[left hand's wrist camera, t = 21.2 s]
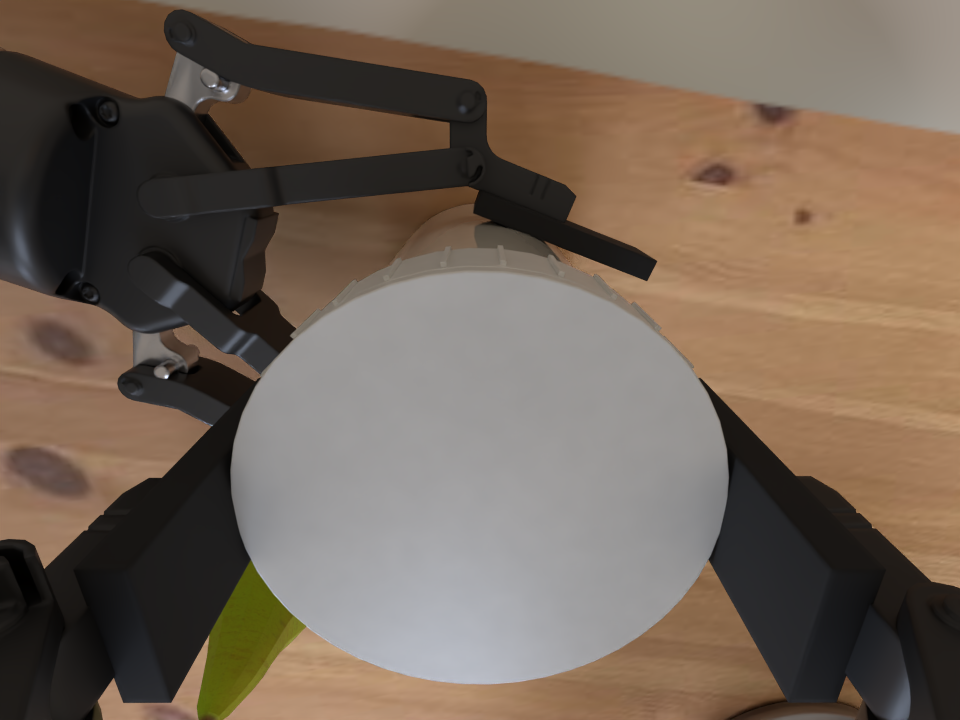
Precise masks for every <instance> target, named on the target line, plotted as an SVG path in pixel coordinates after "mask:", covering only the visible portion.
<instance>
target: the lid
mask: <svg viewBox="0 0 960 720" xmlns="http://www.w3.org/2000/svg"><path fill="white" fill-rule="evenodd" d="M660 329H661V327H660V326H659V325H658V324H657V323H656V322H655V321H654V320H653V319H652V318H651V317H650V316H649V315H648V314H647V313H646V312H645V311H644V310H643V309H642V308H641V307H640V306H638V305H637V304H636V303H635V302H633V303H632V304H630V303H629V302H628V301H626V300H625V299H624V298H623V297H622V296H620V295H619V294H618V293H617V292H616V291H615V290H613V289H611V288H610V287H609V286H608V285H607V284H606V283H605V282H604V281H603V280H602V278H601V277H600V276H598V275H597V274H595V275H594V276H593V277H592V276H591V275H589V274H587V273H585V272H582V271H580V270H578V269H576V268H573V267H571V266H569V265H567V264H564V263H562V262H559V261H557V260H556V259H555V257H554V256H552V255H548V258H545V257H542V256H539V255H535V254H532V253H526V252H519V251H512V250H506V249H504V248H503V246H502V245H498V247H497V249H493V248H464V249H455V250H451V246H448V247H446V248H445V250H444V251H438V252H433V253H429V254H425V255H421V256H417V257H413V258H409V259H406V260H403V261H402V260H401V258H398V259H396V260H395V261H394V262H393V264H392V265H391V266H388V267H386V268H383V269H381V270H378V271H376V272H375V273H373V274H371V275H369V276H368V277H366V278H364V279H362V280H361V281H359V282H357V280H356V279H354V280H353V281H351V282H350V283H349V284H348V285H347V286H346V287H345V288H344V290H343V291H342V292H341V293H340V294H339V295H338V296H337V297H336V298H335V299H334V300H333V301H331V302H330V303H329V304H328V305H327V306H326V307H325V308H324V309H323V310H322V311H321V310H320V309H317V310H316V311H315V312H314V313H313V314H312V315H311V316H310V317H308V318H307V319H306V320H305V321H304V322H303V323H302V324H301V325H300V326H299V327H298V328H297V329H296V330H295V331H294V332H293V333H292V334H291V335H290V336H291V337H292V338H293V340H292V341H291V342H290V343H289V344H288V346H287V347H286V348H285V349H284V350H283V351H282V352H281V353H280V354H279V355H278V356H277V357H276V358H275V359H274V360H273V361H272V362H271V364H270V365H269V366H268V367H267V368H266V369H265V370H264V371H263V372H262V373H261V375H260V376H261V379H260V380H259V382H258V383H257V384H256V386H255V388H254V390H253V392H252V394H251V396H250V398H249V400H248V402H247V404H246V406H245V409H244V411H243V413H242V416H241V419H240V422H239V426H238V429H237V432H236V436H235V439H234V445H233V452H232V460H231V468H230V474H231V495H232V500H233V505H234V509H235V514H236V519H237V524H238V528H239V532H240V535H241V538H242V541H243V543H244V546H245V549H246V551H247V553H248V555H249V556H250V558H251V560H252V562H253V564H254V566H255V568H256V570H257V572H258V573H259V575H260V576H261V577H262V579H263V580H264V582H265V583H266V584H267V586H268V587H269V589H270V590H271V591H272V593H273V594H274V595H275V596H276V597H277V598H278V599H279V600H280V602H281V603H282V604H283V605H284V606H285V607H286V608H287V609H288V610H289V611H290V612H291V613H292V614H293V615H294V616H295V617H296V618H298V619H299V620H300V621H301V622H302V623H303V624H305V625H306V626H307V627H308V628H309V629H310V630H312V631H313V632H315V633H316V634H318V635H319V636H321V637H322V638H324V639H325V640H327V641H328V642H329V643H331V644H332V645H334V646H336V647H338V648H340V649H342V650H343V651H345V652H347V653H349V654H351V655H353V656H355V657H357V658H359V659H361V660H364V661H366V662H369V663H371V664H374V665H376V666H379V667H381V668H384V669H387V670H391V671H394V672H397V673H401V674H404V675H407V676H412V677H417V678H422V679H427V680H432V681H439V682H449V683H458V684H499V683H512V682H520V681H526V680H532V679H538V678H544V677H547V676H551V675H555V674H558V673H562V672H566V671H570V670H572V669H575V668H578V667H580V666H583V665H586V664H588V663H591V662H594V661H596V660H598V659H600V658H602V657H604V656H606V655H608V654H610V653H612V652H614V651H616V650H618V649H620V648H622V647H623V646H625V645H626V644H628V643H630V642H631V641H633V640H634V639H636V638H637V637H639V636H641V635H642V634H643V633H645V632H646V631H647V630H648V629H650V628H651V627H652V626H653V625H655V624H656V623H657V622H658V621H660V620H661V619H662V618H663V617H664V616H665V615H666V614H667V613H668V612H669V611H670V610H671V609H672V608H673V607H674V606H675V605H676V604H677V603H678V602H679V601H680V600H681V599H682V598H683V596H684V595H685V594H686V593H687V591H688V590H689V589H690V587H691V586H692V585H693V583H694V582H695V581H696V580H697V578H698V577H699V575H700V573H701V571H702V570H703V568H704V566H705V564H706V563H707V561H708V559H709V558H710V556H711V554H712V551H713V549H714V546H715V544H716V541H717V539H718V536H719V534H720V530H721V525H722V521H723V516H724V512H725V507H726V502H727V497H728V484H729V470H728V458H727V448H726V444H725V440H724V436H723V432H722V428H721V424H720V420H719V418H718V416H717V413H716V411H715V409H714V406H713V404H712V402H711V399H710V397H709V395H708V393H707V391H706V390H705V388H704V386H703V385H702V383H701V382H700V380H699V379H698V377H697V375H696V374H695V372H694V371H693V369H692V368H694V366H693V365H692V363H691V362H690V361H689V360H688V359H687V358H686V357H685V356H684V355H683V354H682V353H681V352H680V351H679V350H678V349H677V348H676V347H675V346H674V345H673V344H672V343H671V342H670V341H669V340H668V339H667V338H666V337H665V336H663V335H662V334H661V333H660V332H659V330H660Z"/></svg>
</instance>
